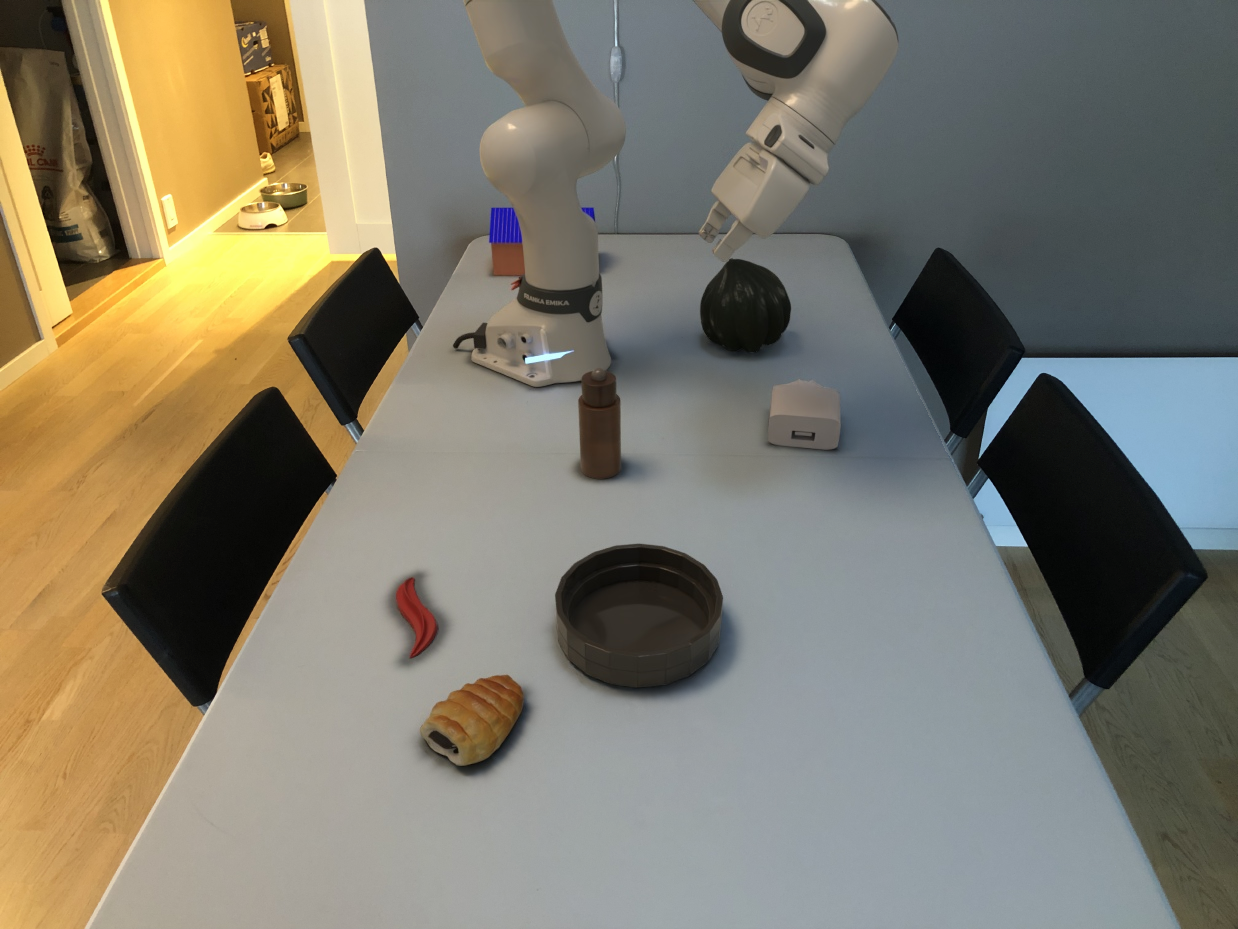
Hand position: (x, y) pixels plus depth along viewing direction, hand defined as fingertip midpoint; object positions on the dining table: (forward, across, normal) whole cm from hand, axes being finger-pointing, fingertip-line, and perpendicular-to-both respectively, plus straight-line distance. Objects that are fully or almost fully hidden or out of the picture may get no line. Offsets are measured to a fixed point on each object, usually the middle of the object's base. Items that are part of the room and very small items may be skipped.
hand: (710, 248), depth 101 cm
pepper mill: (+30, +1, +5) cm, 31 cm away
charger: (+13, -8, +28) cm, 32 cm away
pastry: (+42, +42, -4) cm, 60 cm away
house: (+28, -74, -5) cm, 80 cm away
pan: (+32, +31, +8) cm, 45 cm away
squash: (+12, -34, +24) cm, 44 cm away
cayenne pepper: (+45, +27, -10) cm, 53 cm away
